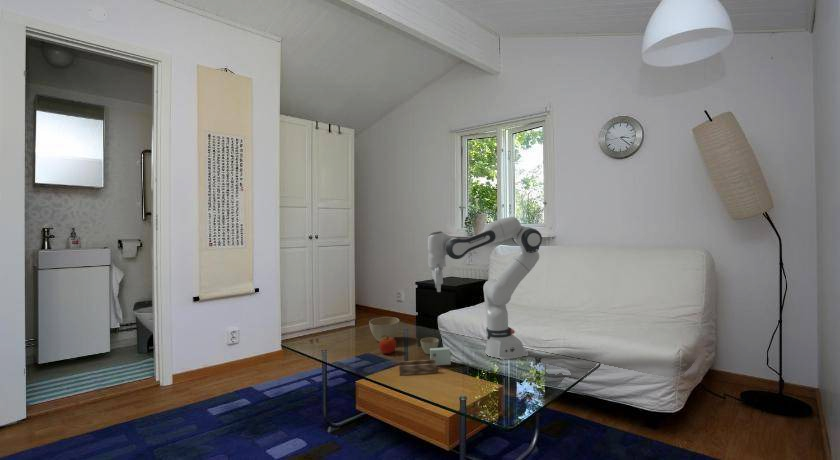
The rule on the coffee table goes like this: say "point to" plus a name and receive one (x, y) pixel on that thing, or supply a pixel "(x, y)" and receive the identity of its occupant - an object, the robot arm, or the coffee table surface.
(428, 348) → the bowl
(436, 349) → the pale mint flat box
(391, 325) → the large beige bowl
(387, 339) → the fruit
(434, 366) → the brown flat wooden block
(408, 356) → the coffee table surface
